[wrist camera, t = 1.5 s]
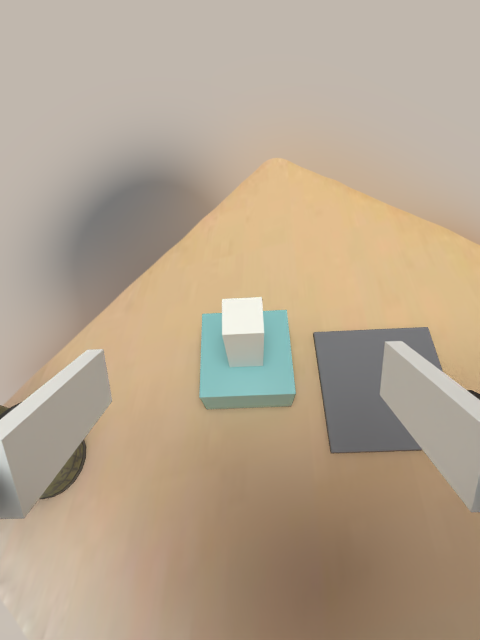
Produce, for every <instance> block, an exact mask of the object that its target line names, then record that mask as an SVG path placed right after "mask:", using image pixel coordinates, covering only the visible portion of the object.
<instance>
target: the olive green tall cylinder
mask: <svg viewBox="0 0 480 640" xmlns="http://www.w3.org/2000/svg"><path fill="white" fill-rule="evenodd" d="M7 409H9V408H7V407H4V406H1V405H0V415H1V414H2V413H3V412H4V411H6V410H7ZM85 458H86V445H85V442H84V439H83V441H82V442H81V443H80V445H79V446H78V447H77V449H76V450H75V451H74V453H73V454H72V455H71V457H70V458H69V459H68V461H67V462H66V463H65V465H64V466H63V467H62V469H61V470H60V471H59V473H58V474H57V475H56V477H55V478H54V479H53V481H52V482H51V483H50V485H49V486H48V487H47V489H46V490H45V491H44V493H43V494H42V495H41V497H40V498H39V499H45V498H50V497H54V496H56V495H58V494H60V493H61V492H63V491H65V490H66V489H67V488H68V487H69V486H70V485H71V484H72V483H73V482H74V481H75V480H76V478H77V477H78V475H79V474H80V472H81V470H82V468H83V465H84V462H85Z"/></svg>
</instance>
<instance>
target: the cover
mask: <svg viewBox="0 0 480 640" xmlns="http://www.w3.org/2000/svg"><path fill="white" fill-rule="evenodd" d="M295 394H296V392H295V383H294V374H293V364H292V355H291V346H290V337H289V327H288V318H287V310H275V311H263V308H262V297H254V298H234V299H222V313H212V314H202V340H201V369H200V399H201V401H202V402H203V404H204V405H205V407H206V409H229V408H256V407H283V406H291V405H292V402H293V400H294V397H295Z"/></svg>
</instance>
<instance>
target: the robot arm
mask: <svg viewBox="0 0 480 640" xmlns="http://www.w3.org/2000/svg"><path fill="white" fill-rule="evenodd" d="M380 396H381V397H382V398H383V400H384V401H385V402H386V404H387V405H388V406H389V407H390V409H391V410H392V411H393V413H394V414H395V415H396V416H397V418H398V419H399V420H400V422H401V423H402V424H403V425H404V427H405V428H406V429H407V431H408V432H409V433H410V434H411V436H412V437H413V438H414V439H415V441H416V442H417V443H418V445H419V446H420V447H421V448H422V450H423V451H424V452H425V454H426V455H427V456H428V457H429V459H430V460H431V461H432V463H433V464H434V465H435V466H436V468H437V469H438V470H439V472H440V473H441V474H442V475H443V477H444V478H445V479H446V481H447V482H448V483H449V484H450V486H451V487H452V488H453V490H454V491H455V492H456V493H457V495H458V496H459V497H460V499H461V500H462V501H463V502H464V504H465V505H466V506H467V508H468V509H469V510H470V511H471V512H480V394H478V393H476V392H474V391H472V390H466V389H464V388H463V387H462V386H461V385H459V384H458V383H457V382H455V381H454V380H453V379H451V378H450V377H449V376H447V375H446V374H445V373H443V372H442V371H441V370H439V369H438V368H437V367H435V366H434V365H433V364H431V363H430V362H429V361H428V360H426V359H425V358H424V357H422V356H421V355H420V354H418V353H417V352H416V351H414V350H413V349H412V348H410V347H409V346H408V345H406V344H405V343H404V342H402V341H385V346H384V356H383V366H382V376H381V386H380ZM111 402H112V397H111V391H110V385H109V379H108V373H107V367H106V362H105V356H104V350H103V349H97V350H86V351H85V352H84V353H83V354H81V355H80V356H79V357H78V358H77V359H75V360H74V361H73V362H72V363H70V364H69V365H68V366H67V367H65V368H64V369H63V370H62V371H60V372H59V373H58V374H57V375H55V376H54V377H53V378H52V379H50V380H49V381H48V382H47V383H45V384H44V385H43V386H42V387H40V388H39V389H38V390H37V391H35V392H34V393H33V394H32V395H30V396H29V397H28V398H27V399H25V400H24V401H23V402H21V403H19V404H17V405H15V406H13V407H11V408H9V409H7V410H6V411H4V412H3V413H2V414H1V415H0V519H19V518H25V517H26V516H27V514H28V513H29V511H30V510H31V509H32V507H33V506H34V505H35V503H36V502H37V501H38V499H39V498H40V497H41V495H42V494H43V493H44V491H45V490H46V489H47V487H48V486H49V485H50V483H51V482H52V481H53V479H54V478H55V477H56V475H57V474H58V473H59V471H60V470H61V469H62V467H63V466H64V465H65V463H66V462H67V461H68V459H69V458H70V457H71V455H72V454H73V453H74V451H75V450H76V449H77V447H78V446H79V445H80V443H81V442H82V441H83V439H84V438H85V437H86V435H87V434H88V433H89V431H90V430H91V429H92V427H93V426H94V425H95V423H96V422H97V421H98V419H99V418H100V417H101V415H102V414H103V413H104V411H105V410H106V409H107V407H108V406H109V405H110V403H111Z"/></svg>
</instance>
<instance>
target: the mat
mask: <svg viewBox="0 0 480 640" xmlns="http://www.w3.org/2000/svg"><path fill="white" fill-rule="evenodd" d="M313 336H314V342H315V349H316V356H317V363H318V370H319V376H320V383H321V390H322V397H323V403H324V410H325V417H326V424H327V431H328V437H329V444H330V451H331V453H349V452H380V451H411V450H422V448H421V447H420V446H419V445H418V443H417V442H416V441H415V439H414V438H413V437H412V436H411V434H410V433H409V432H408V431H407V429H406V428H405V427H404V425H403V424H402V423H401V422H400V420H399V419H398V418H397V416H396V415H395V414H394V413H393V411H392V410H391V409H390V407H389V406H388V405H387V404H386V402H385V401H384V400H383V398H382V397H381V396H380V386H381V376H382V366H383V356H384V346H385V341H402V342H404V343H405V344H406V345H408V346H409V347H410V348H412V349H413V350H414V351H416V352H417V353H418V354H420V355H421V356H422V357H424V358H425V359H426V360H428V361H429V362H430V363H431V364H433V365H434V366H435V367H437V368H438V369H439V370H441V371H442V368H441V365H440V362H439V359H438V356H437V353H436V350H435V347H434V344H433V341H432V338H431V335H430V332H429V329H428V327H420V328H397V329H375V330H353V331H331V332H314V333H313ZM442 372H443V371H442Z"/></svg>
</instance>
